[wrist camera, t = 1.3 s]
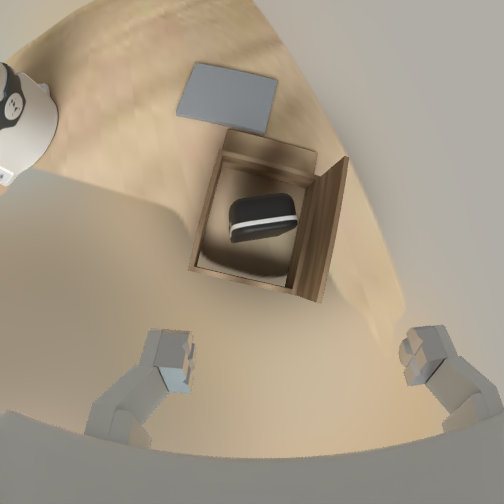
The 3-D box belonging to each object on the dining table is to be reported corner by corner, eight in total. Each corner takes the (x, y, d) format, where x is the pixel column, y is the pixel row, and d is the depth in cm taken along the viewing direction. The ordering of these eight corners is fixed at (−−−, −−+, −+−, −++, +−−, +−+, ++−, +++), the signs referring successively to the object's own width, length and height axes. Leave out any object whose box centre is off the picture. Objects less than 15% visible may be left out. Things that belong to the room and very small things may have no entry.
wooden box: (191, 269, 40) (179, 271, 28) (228, 130, 42) (232, 82, 29) (291, 293, 42) (321, 303, 29) (319, 154, 43) (354, 118, 31)
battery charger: (276, 208, 42) (296, 187, 31) (280, 235, 42) (303, 224, 31) (224, 215, 41) (227, 196, 30) (229, 243, 41) (233, 235, 30)
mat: (176, 115, 41) (175, 112, 40) (196, 66, 42) (195, 63, 41) (263, 134, 42) (264, 132, 41) (276, 83, 43) (278, 80, 42)
